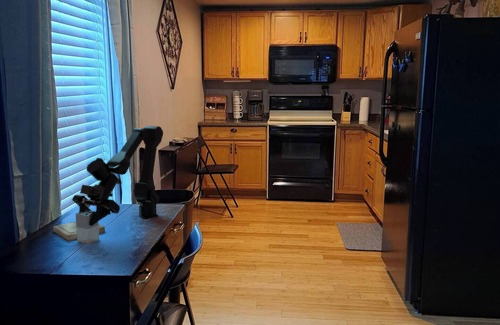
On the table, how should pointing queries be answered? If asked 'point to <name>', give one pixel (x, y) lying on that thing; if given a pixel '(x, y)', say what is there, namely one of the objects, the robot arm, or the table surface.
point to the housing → (86, 227)
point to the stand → (71, 230)
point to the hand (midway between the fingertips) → (84, 224)
